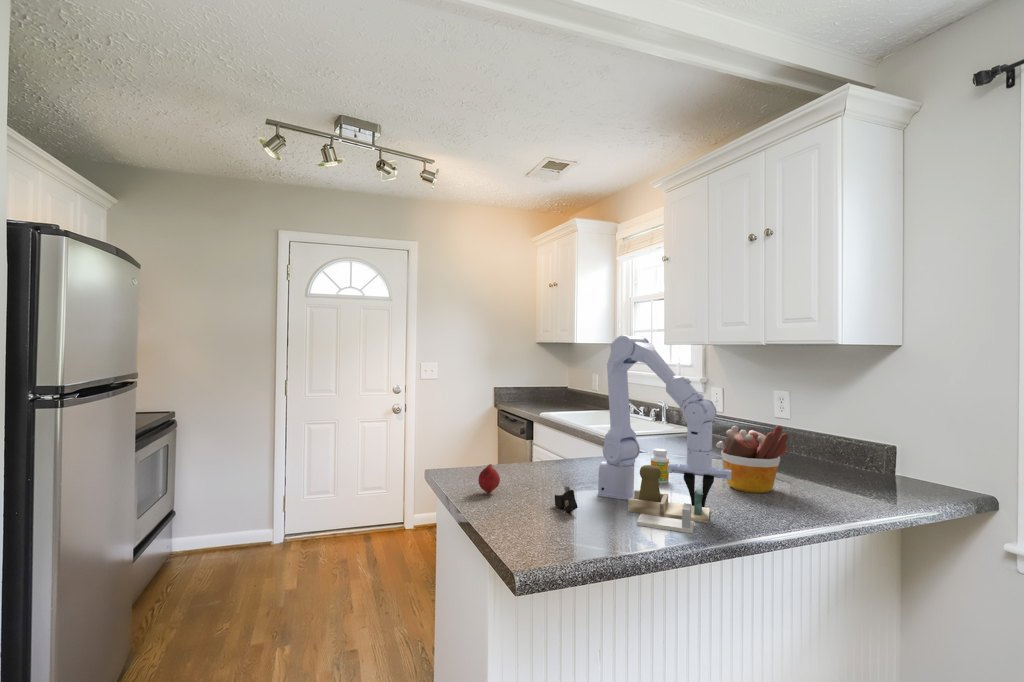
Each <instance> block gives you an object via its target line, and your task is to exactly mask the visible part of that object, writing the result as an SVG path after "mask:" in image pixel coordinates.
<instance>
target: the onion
mask: <svg viewBox="0 0 1024 682" xmlns="http://www.w3.org/2000/svg"><path fill="white" fill-rule="evenodd" d="M500 479H501V478H500V474H499V472H498V471H497V470H496V469H495V468H494V467H493V464H492V463H488V465H486V467H485V468H483V469H482V471H480V472H479V475H478V486H479V487H480V488H481V490H483V492H485V493H487V494H492V492H493V491H495V490H496V489H497V488H498V487H499V484H500V482H501V480H500Z"/></svg>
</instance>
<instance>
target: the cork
mask: <svg viewBox="0 0 1024 682" xmlns="http://www.w3.org/2000/svg"><path fill="white" fill-rule="evenodd" d="M639 475H640V478H641V480H640V481H641V482H640V487H639V488H640V489H639V490H640V493H639V500H645V501H653V502H661V499H660V493H661V491H660V483H659V479H660V477H661V471H660V469H659V468H658V467H657V466H653V465H651V464H644V465H641V467H640V468H639Z"/></svg>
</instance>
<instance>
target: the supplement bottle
mask: <svg viewBox="0 0 1024 682" xmlns="http://www.w3.org/2000/svg"><path fill="white" fill-rule="evenodd" d="M652 453H653V455H652V456H651V457H650V465H653V466H657V467H658V468H659V469H660V471H661V477H660V479H659V484H668V482H669V479H670V477H669V474H670V473H668V464H670V458H669V457H668V456H667V455H668V451H667V449H664V448H653V452H652Z"/></svg>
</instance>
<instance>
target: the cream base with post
mask: <svg viewBox="0 0 1024 682" xmlns="http://www.w3.org/2000/svg"><path fill="white" fill-rule="evenodd" d="M683 504H684V505H683V509H682V519H676V518H669V517H662V516H655V515H648V514H641V513H640V515H639V517H638V519H637V521H636V526H641V527H646V528H647V527H648V528H655V529H661V530H667V531H673V532H674V531H675V532H681V533H687V534H692V535H693V533H694V530H695V529H694V528H695V521H691V506H692V503H685V502H684V503H683Z"/></svg>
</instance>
